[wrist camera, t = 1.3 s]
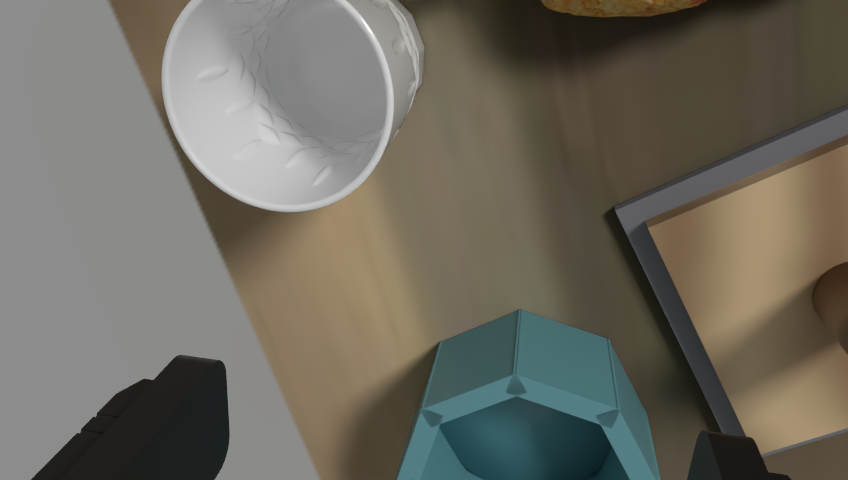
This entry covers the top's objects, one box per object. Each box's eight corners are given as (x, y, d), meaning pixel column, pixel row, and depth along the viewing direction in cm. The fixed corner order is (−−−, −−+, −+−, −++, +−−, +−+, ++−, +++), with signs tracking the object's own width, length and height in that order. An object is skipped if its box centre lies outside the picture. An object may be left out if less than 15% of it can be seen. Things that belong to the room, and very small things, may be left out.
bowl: (581, 283, 35) (586, 345, 29) (671, 460, 38) (692, 547, 32) (386, 363, 38) (358, 432, 33) (482, 519, 41) (471, 607, 35)
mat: (972, 49, 28) (981, 51, 28) (1069, 354, 32) (1078, 361, 32) (614, 206, 33) (615, 210, 33) (734, 457, 37) (737, 464, 36)
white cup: (268, -43, 32) (152, -41, 22) (445, -29, 31) (400, -20, 21) (269, 133, 35) (167, 198, 25) (431, 151, 34) (386, 226, 24)
